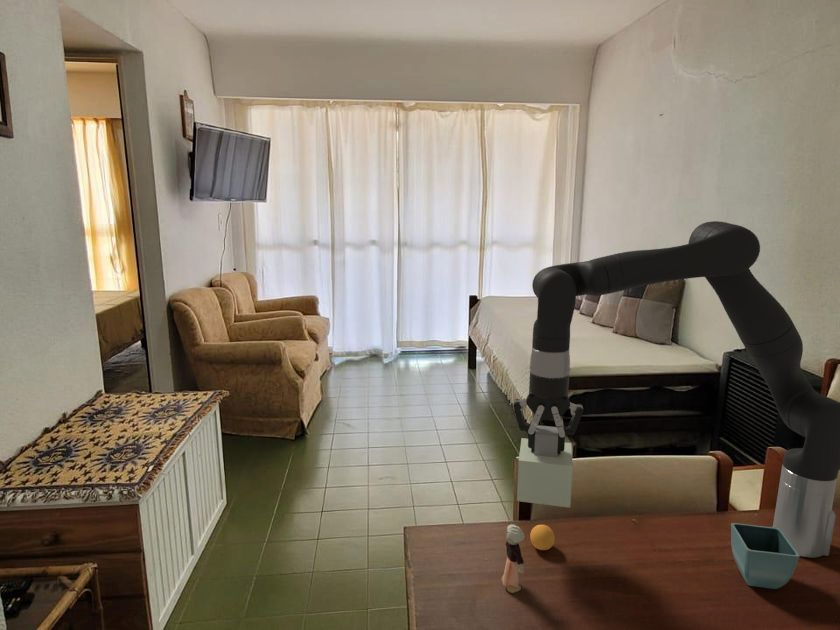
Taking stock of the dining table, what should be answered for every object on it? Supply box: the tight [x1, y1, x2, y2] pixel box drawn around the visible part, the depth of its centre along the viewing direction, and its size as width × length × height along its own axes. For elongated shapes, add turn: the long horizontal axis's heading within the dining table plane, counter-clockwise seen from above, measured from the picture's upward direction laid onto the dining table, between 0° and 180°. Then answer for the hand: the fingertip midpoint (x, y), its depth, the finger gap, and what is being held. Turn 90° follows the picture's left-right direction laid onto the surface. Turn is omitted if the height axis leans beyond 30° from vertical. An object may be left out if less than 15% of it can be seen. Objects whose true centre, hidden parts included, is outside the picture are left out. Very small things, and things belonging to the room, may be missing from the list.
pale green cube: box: [516, 424, 574, 509], centre depth 108 cm, size 10×10×13 cm
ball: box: [529, 524, 555, 551], centre depth 112 cm, size 5×5×5 cm
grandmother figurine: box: [500, 524, 525, 594], centre depth 100 cm, size 8×4×13 cm, turn 23°
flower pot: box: [730, 522, 801, 590], centre depth 102 cm, size 9×9×9 cm
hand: (545, 450), depth 108 cm, fingers closed on pale green cube, 4 cm apart
